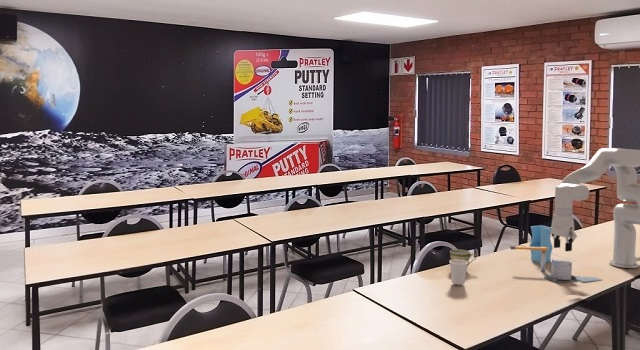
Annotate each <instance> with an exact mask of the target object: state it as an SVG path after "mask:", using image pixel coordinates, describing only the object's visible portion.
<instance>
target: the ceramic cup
mask: <svg viewBox="0 0 640 350" xmlns="http://www.w3.org/2000/svg"><path fill="white" fill-rule="evenodd" d="M449 255H450V260H454V259H458V260H465V261H467V262H468V264H467V268H468V266H469V265H470V264H471V263H472V262H474V261H475V260H476V259H477V257H478V256H477V254H476V253H471V252H470V251H469V250H465V249H451V250H450V251H449ZM472 256H475V258H473V259H472V260H471V261H469V260H470V259H471V257H472ZM467 270H468V269H467ZM467 270H466V273H467Z"/></svg>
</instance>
